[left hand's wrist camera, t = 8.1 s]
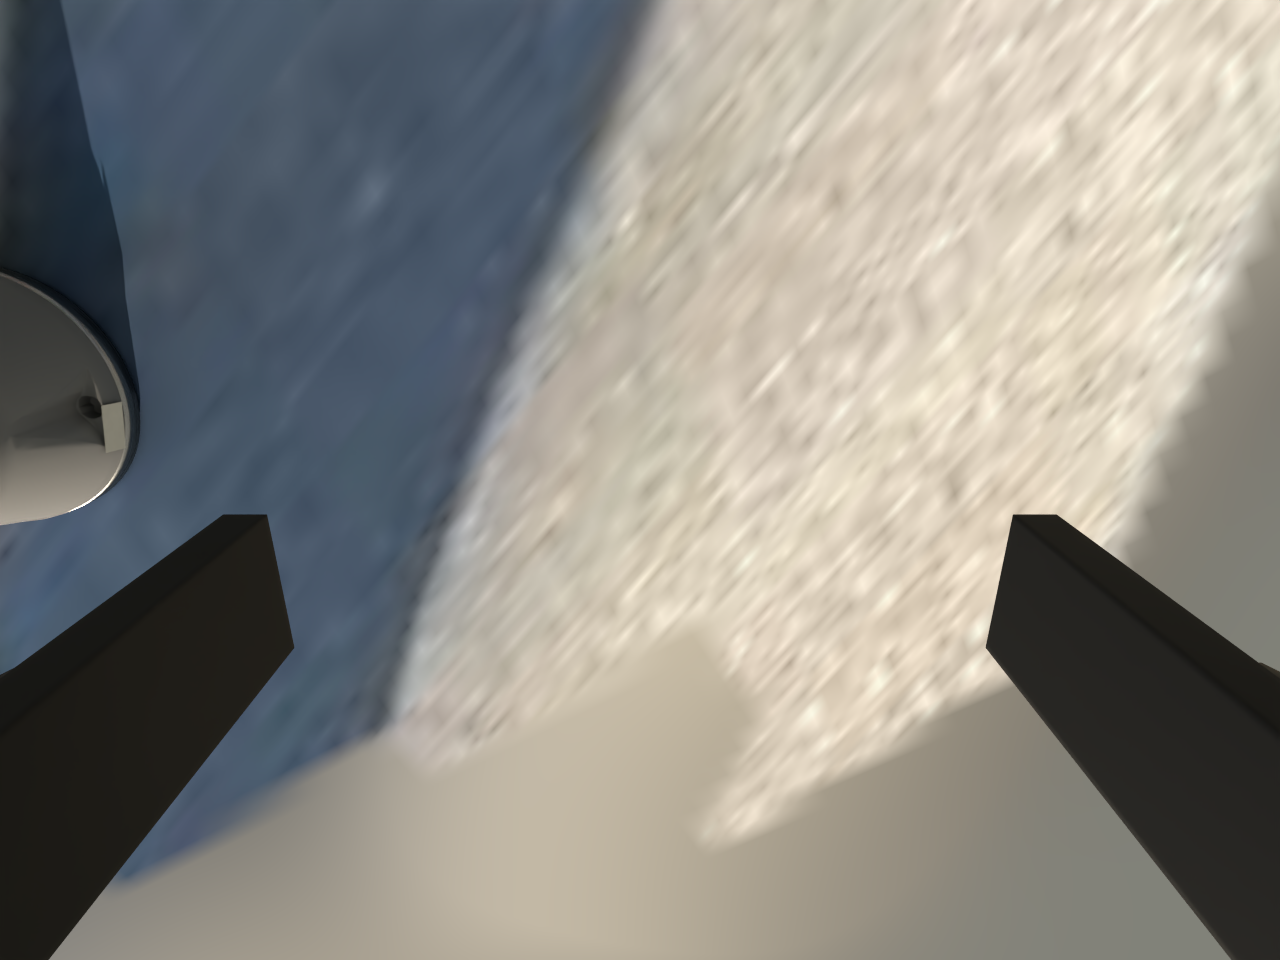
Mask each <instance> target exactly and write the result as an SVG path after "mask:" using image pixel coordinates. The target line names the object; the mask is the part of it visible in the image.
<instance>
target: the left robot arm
mask: <svg viewBox="0 0 1280 960" xmlns="http://www.w3.org/2000/svg"><path fill="white" fill-rule="evenodd" d="M139 434H140V414H139V406H138V401H137V396H136V392H135V389H134V386H133V383H132V380H131V378H130V375H129V373H128V371H127V369H126V367H125V365H124V363H123V361H122V359H121V357H120V356H119V354H118V352H117V351H116V349H115V348H114V346H113V345H112V343H111V342H110V340H109V339H108V338H107V336H106V335H105V334H104V333H103V332H102V330H101V329H100V328H99V327H98V326H97V325H96V324H95V323H94V322H93V321H92V320H91V319H90V318H89V317H88V316H87V315H86V314H85V313H84V312H83V311H82V310H81V309H80V308H78V307H77V306H76V305H75V304H73V303H72V302H71V301H69V300H68V299H67V298H66V297H64V296H63V295H61V294H60V293H58V292H56V291H55V290H53V289H52V288H50V287H48V286H46V285H44V284H43V283H41V282H39V281H37V280H34V279H32V278H30V277H28V276H25V275H23V274H20V273H17V272H14V271H11V270H7V269H3V268H0V525H4V524H11V523H18V522H24V521H34V520H41V519H46V518H51V517H54V516H57V515H61V514H64V513H67V512H69V511H72V510H75V509H77V508H79V507H82V506H84V505H86V504H88V503H89V502H91V501H93V500H95V499H97V498H99V497H100V496H102V495H103V494H105V493H107V492H108V491H109V490H110V489H112V488H113V487H114V486H115V485H116V484H117V483H118V482H119V481H120V480H121V479H122V477H123V476H124V475H125V473H126V472H127V470H128V469H129V467H130V465H131V463H132V461H133V458H134V456H135V453H136V450H137V446H138V442H139ZM293 649H294V644H293V639H292V634H291V629H290V624H289V619H288V615H287V610H286V605H285V600H284V595H283V590H282V585H281V581H280V576H279V571H278V566H277V561H276V556H275V551H274V547H273V542H272V537H271V532H270V527H269V522H268V518H267V515H222V516H221V517H219V518H218V519H217V520H215V521H214V522H213V523H211V524H210V525H208V526H207V527H206V528H204V529H203V530H202V531H200V532H199V533H198V534H196V535H195V536H193V537H192V538H191V539H189V540H188V541H187V542H185V543H184V544H183V545H181V546H180V547H179V548H177V549H176V550H174V551H173V552H172V553H170V554H169V555H168V556H166V557H165V558H164V559H162V560H161V561H159V562H158V563H157V564H155V565H154V566H153V567H151V568H150V569H149V570H147V571H146V572H144V573H143V574H142V575H140V576H139V577H138V578H136V579H135V580H134V581H132V582H131V583H129V584H128V585H127V586H125V587H124V588H123V589H121V590H120V591H119V592H117V593H116V594H114V595H113V596H112V597H110V598H109V599H108V600H106V601H105V602H104V603H102V604H101V605H100V606H98V607H97V608H95V609H94V610H93V611H91V612H90V613H89V614H87V615H86V616H85V617H83V618H82V619H80V620H79V621H78V622H76V623H75V624H74V625H72V626H71V627H70V628H68V629H67V630H65V631H64V632H63V633H61V634H60V635H59V636H57V637H56V638H55V639H53V640H52V641H50V642H49V643H48V644H46V645H45V646H44V647H42V648H41V649H40V650H38V651H37V652H36V653H34V654H33V655H31V656H30V657H29V658H27V659H26V660H25V661H23V662H22V663H21V664H19V665H18V666H16V667H15V668H13V669H11V670H9V671H7V672H5V673H3V674H1V675H0V960H49V959H50V957H51V956H52V955H53V953H54V952H55V951H56V950H57V948H58V947H59V946H60V945H61V943H62V942H63V941H64V939H65V938H66V937H67V936H68V934H69V933H70V932H71V931H72V929H73V928H74V927H75V925H76V924H77V923H78V922H79V920H80V919H81V918H82V917H83V915H84V914H85V913H86V912H87V910H88V909H89V908H90V906H91V905H92V904H93V903H94V901H95V900H96V899H97V898H98V896H99V895H100V894H101V892H102V891H103V890H104V889H105V887H106V886H107V885H108V884H109V882H110V881H111V880H112V879H113V877H114V876H115V875H116V873H117V872H118V871H119V870H120V868H121V867H122V866H123V865H124V863H125V862H126V861H127V859H128V858H129V857H130V856H131V854H132V853H133V852H134V851H135V849H136V848H137V847H138V846H139V844H140V843H141V842H142V840H143V839H144V838H145V837H146V835H147V834H148V833H149V832H150V830H151V829H152V828H153V826H154V825H155V824H156V823H157V821H158V820H159V819H160V818H161V816H162V815H163V814H164V812H165V811H166V810H167V809H168V807H169V806H170V805H171V804H172V802H173V801H174V800H175V799H176V797H177V796H178V795H179V793H180V792H181V791H182V790H183V788H184V787H185V786H186V785H187V783H188V782H189V781H190V779H191V778H192V777H193V776H194V774H195V773H196V772H197V771H198V769H199V768H200V767H201V765H202V764H203V763H204V762H205V760H206V759H207V758H208V757H209V755H210V754H211V753H212V752H213V750H214V749H215V748H216V746H217V745H218V744H219V743H220V741H221V740H222V739H223V738H224V736H225V735H226V734H227V732H228V731H229V730H230V729H231V727H232V726H233V725H234V724H235V722H236V721H237V720H238V719H239V717H240V716H241V715H242V713H243V712H244V711H245V710H246V708H247V707H248V706H249V705H250V703H251V702H252V701H253V699H254V698H255V697H256V696H257V694H258V693H259V692H260V691H261V689H262V688H263V687H264V685H265V684H266V683H267V682H268V680H269V679H270V678H271V677H272V675H273V674H274V673H275V672H276V670H277V669H278V668H279V666H280V665H281V664H282V663H283V661H284V660H285V659H286V658H287V656H288V655H289V654H290V652H291V651H292V650H293ZM986 649H987V650H988V651H989V652H990V654H991V655H992V656H993V658H994V659H995V660H996V661H997V663H998V664H999V665H1000V666H1001V668H1002V669H1003V670H1004V672H1005V673H1006V674H1007V675H1008V677H1009V678H1010V679H1011V680H1012V682H1013V683H1014V684H1015V685H1016V687H1017V688H1018V689H1019V691H1020V692H1021V693H1022V694H1023V696H1024V697H1025V698H1026V699H1027V701H1028V702H1029V703H1030V705H1031V706H1032V707H1033V708H1034V710H1035V711H1036V712H1037V713H1038V715H1039V716H1040V717H1041V719H1042V720H1043V721H1044V722H1045V724H1046V725H1047V726H1048V727H1049V729H1050V730H1051V731H1052V732H1053V734H1054V735H1055V736H1056V738H1057V739H1058V740H1059V741H1060V743H1061V744H1062V745H1063V746H1064V748H1065V749H1066V750H1067V751H1068V753H1069V754H1070V755H1071V757H1072V758H1073V759H1074V760H1075V762H1076V763H1077V764H1078V765H1079V767H1080V768H1081V769H1082V771H1083V772H1084V773H1085V774H1086V776H1087V777H1088V778H1089V779H1090V781H1091V782H1092V783H1093V785H1094V786H1095V787H1096V788H1097V790H1098V791H1099V792H1100V793H1101V795H1102V796H1103V797H1104V799H1105V800H1106V801H1107V802H1108V804H1109V805H1110V806H1111V807H1112V809H1113V810H1114V811H1115V812H1116V814H1117V815H1118V816H1119V818H1120V819H1121V820H1122V821H1123V823H1124V824H1125V825H1126V826H1127V828H1128V829H1129V830H1130V832H1131V833H1132V834H1133V835H1134V837H1135V838H1136V839H1137V840H1138V842H1139V843H1140V844H1141V845H1142V847H1143V848H1144V849H1145V851H1146V852H1147V853H1148V854H1149V856H1150V857H1151V858H1152V859H1153V861H1154V862H1155V863H1156V864H1157V866H1158V867H1159V868H1160V870H1161V871H1162V872H1163V873H1164V875H1165V876H1166V877H1167V879H1168V880H1169V881H1170V882H1171V884H1172V885H1173V886H1174V887H1175V889H1176V890H1177V891H1178V892H1179V894H1180V895H1181V896H1182V898H1183V899H1184V900H1185V901H1186V903H1187V904H1188V905H1189V906H1190V908H1191V909H1192V910H1193V911H1194V913H1195V914H1196V915H1197V917H1198V918H1199V919H1200V920H1201V922H1202V923H1203V924H1204V926H1205V927H1206V928H1207V929H1208V931H1209V932H1210V933H1211V934H1212V936H1213V937H1214V938H1215V939H1216V941H1217V942H1218V943H1219V945H1220V946H1221V947H1222V948H1223V950H1224V951H1225V952H1226V953H1227V955H1228V956H1229V957H1230V958H1231V960H1280V672H1279V671H1277V670H1275V669H1273V668H1271V667H1269V666H1267V665H1265V664H1263V663H1258V662H1257V661H1255V660H1254V659H1253V658H1251V657H1250V656H1249V655H1247V654H1246V653H1244V652H1243V651H1242V650H1240V649H1239V648H1238V647H1236V646H1235V645H1234V644H1232V643H1231V642H1230V641H1228V640H1227V639H1225V638H1224V637H1223V636H1221V635H1220V634H1219V633H1217V632H1216V631H1215V630H1213V629H1212V628H1210V627H1209V626H1208V625H1206V624H1205V623H1204V622H1202V621H1201V620H1200V619H1198V618H1197V617H1195V616H1194V615H1193V614H1191V613H1190V612H1189V611H1187V610H1186V609H1185V608H1183V607H1182V606H1180V605H1179V604H1178V603H1176V602H1175V601H1174V600H1172V599H1171V598H1170V597H1168V596H1167V595H1165V594H1164V593H1163V592H1161V591H1160V590H1159V589H1157V588H1156V587H1155V586H1153V585H1152V584H1151V583H1149V582H1148V581H1146V580H1145V579H1144V578H1142V577H1141V576H1140V575H1138V574H1137V573H1136V572H1134V571H1133V570H1131V569H1130V568H1129V567H1127V566H1126V565H1125V564H1123V563H1122V562H1121V561H1119V560H1118V559H1116V558H1115V557H1114V556H1112V555H1111V554H1110V553H1108V552H1107V551H1106V550H1104V549H1103V548H1101V547H1100V546H1099V545H1097V544H1096V543H1095V542H1093V541H1092V540H1091V539H1089V538H1088V537H1087V536H1085V535H1084V534H1082V533H1081V532H1080V531H1078V530H1077V529H1076V528H1074V527H1073V526H1072V525H1070V524H1069V523H1067V522H1066V521H1065V520H1063V519H1062V518H1061V517H1059V516H1058V515H1013V518H1012V522H1011V527H1010V532H1009V537H1008V542H1007V547H1006V551H1005V556H1004V561H1003V566H1002V571H1001V576H1000V581H999V585H998V590H997V595H996V600H995V605H994V610H993V615H992V619H991V624H990V629H989V634H988V639H987V644H986Z"/></svg>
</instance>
